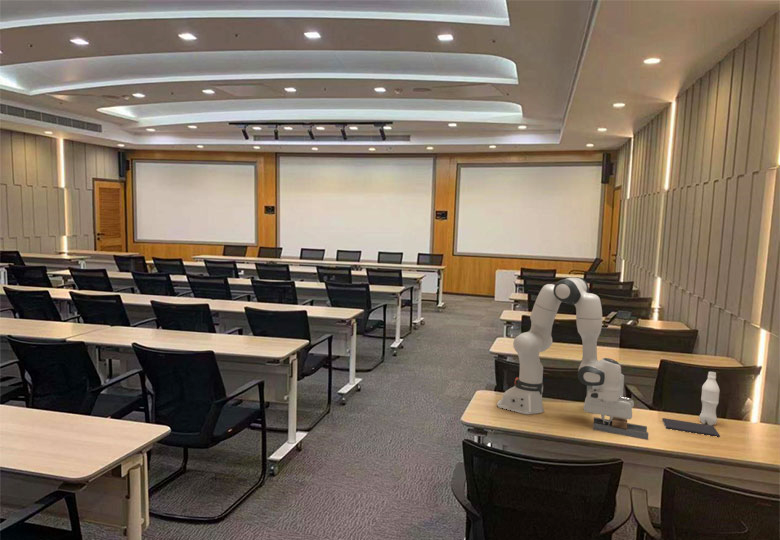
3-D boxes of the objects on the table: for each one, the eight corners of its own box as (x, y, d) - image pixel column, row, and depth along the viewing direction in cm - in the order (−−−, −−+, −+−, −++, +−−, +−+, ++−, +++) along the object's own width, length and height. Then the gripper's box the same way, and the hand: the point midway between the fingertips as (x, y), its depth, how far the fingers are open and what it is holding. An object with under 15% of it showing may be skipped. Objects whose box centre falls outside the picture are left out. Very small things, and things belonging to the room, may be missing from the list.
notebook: (665, 429, 230) (719, 438, 222) (665, 426, 230) (719, 435, 222) (661, 420, 241) (712, 429, 234) (662, 417, 241) (713, 425, 234)
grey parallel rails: (593, 429, 224) (593, 424, 224) (593, 422, 233) (594, 417, 233) (647, 439, 215) (648, 433, 215) (646, 431, 224) (646, 426, 224)
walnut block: (611, 431, 223) (612, 420, 223) (611, 427, 228) (612, 416, 228) (626, 434, 220) (627, 423, 220) (626, 429, 226) (627, 418, 226)
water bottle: (696, 423, 239) (701, 371, 237) (701, 419, 244) (705, 369, 242) (714, 427, 234) (719, 375, 232) (718, 424, 239) (723, 372, 237)
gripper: (633, 396, 224) (631, 426, 225) (585, 389, 232) (583, 418, 233) (634, 400, 218) (632, 431, 219) (584, 392, 227) (582, 422, 227)
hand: (606, 424), depth 226 cm, fingers closed
